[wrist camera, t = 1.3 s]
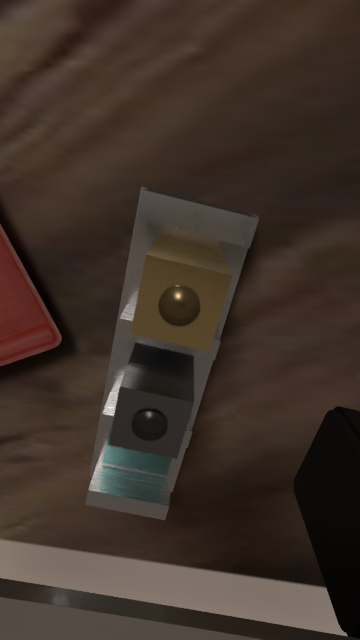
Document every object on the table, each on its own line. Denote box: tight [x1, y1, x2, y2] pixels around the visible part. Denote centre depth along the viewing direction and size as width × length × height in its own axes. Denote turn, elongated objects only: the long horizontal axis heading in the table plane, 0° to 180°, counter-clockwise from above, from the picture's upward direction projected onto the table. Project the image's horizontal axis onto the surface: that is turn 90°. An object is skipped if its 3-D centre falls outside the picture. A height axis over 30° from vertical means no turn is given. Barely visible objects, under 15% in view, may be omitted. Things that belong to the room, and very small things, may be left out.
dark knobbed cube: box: [108, 342, 194, 459], centre depth 24 cm, size 4×4×7 cm
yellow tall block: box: [130, 235, 232, 352], centre depth 21 cm, size 4×4×7 cm
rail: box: [85, 186, 259, 520], centre depth 27 cm, size 8×26×5 cm, turn 167°
